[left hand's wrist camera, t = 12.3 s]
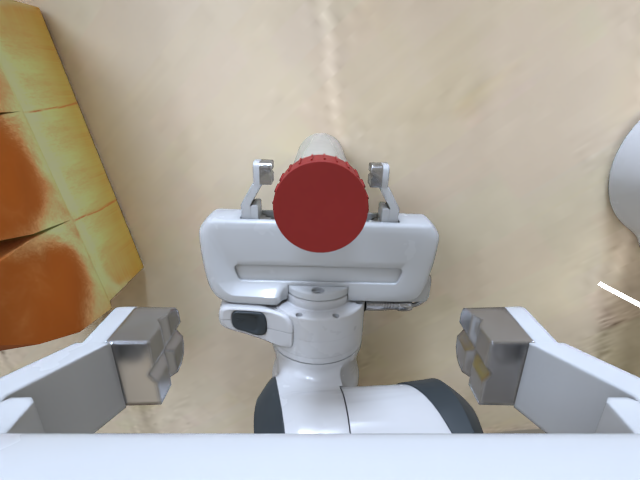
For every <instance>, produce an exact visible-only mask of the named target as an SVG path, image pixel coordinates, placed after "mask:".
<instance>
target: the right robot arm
mask: <svg viewBox="0 0 640 480" xmlns="http://www.w3.org/2000/svg"><path fill="white" fill-rule="evenodd" d="M273 167H274V162H273V160H263V159H255V161H254V162H253V181H254V183H253V184H252V186H251V187H250V189H249V191H248V193H247V195H246V196H245V198H244V200H243V202H242V204H241V209H216V210H214V211H213V212H212V213H211V214H210V215H209V216H208V217H207V218H206V219H205V220H204V222H203V223H202V225H201V227H200V231H199V237H200V247H201V253H202V259H203V263H204V268H205V272H206V276H207V280H208V283H209V285H210V287H211V289H212V291H213V292H214V294H215V295H216V296H217V297H219V298H220V299H222V302H221V306H220V311H219V320H220V323H221V325H222V326H224V327H226V328H228V329H231V330H235V331H238V332H241V333H245V334H248V335H251V336H254V337H257V338H260V339H263V340H266V341H268V342H271V343H272V344H273V347H274V350H275V353H276V359H275V362H274V366H273V372H272V377H273V378H272V379H271V380H270V381H269V382H268V383H267V385H266V386H265V388H264V389H263V391H262V392H261V394H260V395H259V397H258V399H257V402H256V406H255V412H254V434H483V431H482V428H481V425H480V422H479V420H478V417H477V415H476V413H475V411H474V410H473V408H472V407H471V406H470V404H469V403H468V402H467V401H466V400H465V399H464V398H463V397H462V396H461V395H459V394H458V393H457V392H456V391H455V390H453V389H452V388H451V387H449V386H448V385H446V384H445V383H443V382H442V381H440V380H438V379H435V378H431V379H424V380H417V381H410V382H403V383H398V384H396V385H378V386H358V380H359V369H358V365H357V361H356V357H357V354H358V352H359V350H360V347H361V342H362V331H363V319H364V311H365V310H373V311H383V310H398V311H410V310H412V307H416V306H419V305H421V304H422V303H424V302H425V301H427V299H428V297H429V293H430V286H431V275H430V272H431V269H432V266H433V263H434V259H435V255H436V251H437V247H438V242H439V234H438V231H437V229H436V228H435V226H434V225H433V223H432V222H431V221H430V220H429V219H428V218H427V217H426V216H425V215H423V214H400V213H399V207H398V205H397V203H396V201H395V199H394V197H393V195H392V193H391V190H390V188H389V187H388V181H389V164H388V163H374V162H370V163H369V171H370V173H369V174H368V184H369V186H370V187H377V188H380V190H381V192H382V194H383V196H384V198H385V201H386V203H385V202H380V203H379V209H378V213H368V216H367V220H366V223H365V225H364V227H363V229H362V231H361V232H360V234H359V235H358V236H357V237H356V238H355V239H354V240H353V241H352V242H351V243H349V244H348V245H347V246H345V247H343V248H341V249H338V250H336V251H332V252H326V253H316V252H310V251H306V250H303V249H301V248H299V247H297V246H295V245H293V244H292V243H291V242H289V241H288V240H287V239H286V238H285V237H284V236H283V234H282V233H281V231H280V230H279V228H278V226H277V224H276V221H275V218H274V213H273V210H262V204H261V199H255V196H256V195H257V193H258V191H259V189H260V187H261V186H262V185H271V184H272V182H273V181H274V172H273V170H272V169H273ZM608 189H609V198H610V203H611V206H612V209H613V211H614V213H615V215H616V216H617V218H618V219H619V220H620V221H621V222H622V223H623V224H624V225H625V226H626V227H627V228H628V229H630V230H631V231H632V232H633V233H634V234H635V235H636V237H637V240H638V243H639V246H640V121H639V122H638V123H637V124H636V125H635V126H634V127H633V128H632V130H631V131H630V132H629V134H628V135H627V136H626V138H625V139H624V141H623V142H622V144H621V146H620V148H619V149H618V152H617V154H616V156H615V158H614V161H613V164H612V167H611V171H610V176H609V186H608ZM598 285H600V286H601V287H602V288H604V289H606V290H608V291H610V292H612V293H614V294H616V295H618V296H620V297H621V298H623V299H625V300H627V301H629V302H631V303H633V304H635V305H637V306H639V307H640V302H638V301H636V300H634V299H632V298H630V297H628V296H626V295H624V294H622V293H620V292H619V291H617V290H615V289H613V288H611V287H609V286H607V285H605V284H603V283H601V282H600V283H599V284H598ZM412 302H414V303H412Z"/></svg>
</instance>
